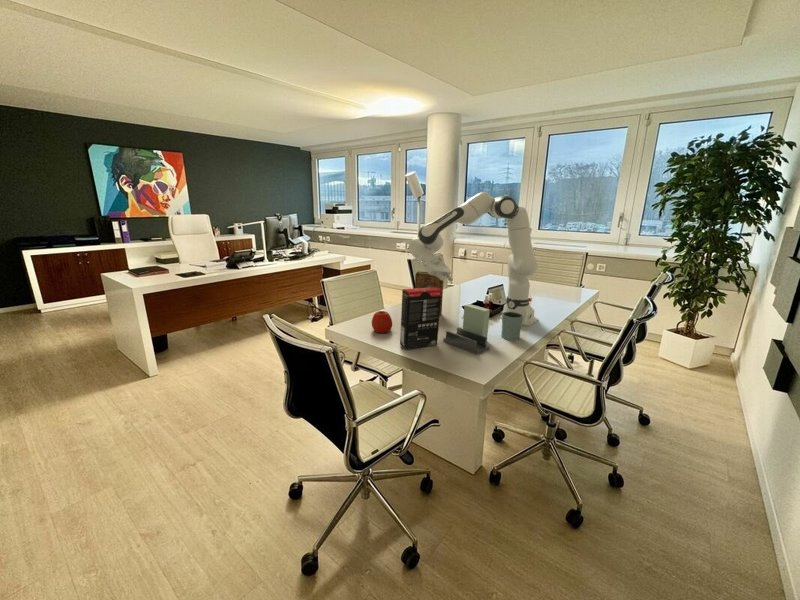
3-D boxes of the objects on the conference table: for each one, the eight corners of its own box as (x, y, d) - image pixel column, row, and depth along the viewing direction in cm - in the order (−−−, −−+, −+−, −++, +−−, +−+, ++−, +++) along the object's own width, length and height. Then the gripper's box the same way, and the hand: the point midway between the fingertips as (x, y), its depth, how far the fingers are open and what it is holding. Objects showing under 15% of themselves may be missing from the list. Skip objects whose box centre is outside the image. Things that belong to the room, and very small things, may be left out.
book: (441, 313, 208) (444, 272, 201) (441, 315, 203) (443, 274, 196) (415, 311, 210) (416, 271, 204) (413, 313, 205) (415, 273, 199)
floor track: (455, 336, 170) (456, 326, 169) (489, 349, 155) (490, 338, 154) (443, 341, 164) (443, 330, 163) (476, 354, 150) (477, 343, 148)
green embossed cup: (505, 341, 166) (507, 317, 163) (496, 333, 176) (498, 311, 172) (524, 340, 167) (527, 317, 164) (514, 333, 177) (517, 311, 174)
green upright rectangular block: (467, 334, 174) (469, 304, 170) (486, 341, 166) (489, 309, 161) (462, 335, 172) (464, 305, 168) (481, 343, 163) (484, 311, 159)
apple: (368, 328, 179) (368, 309, 176) (388, 326, 183) (388, 307, 180) (374, 335, 169) (374, 315, 167) (395, 333, 173) (395, 313, 170)
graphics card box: (431, 340, 165) (434, 285, 158) (439, 345, 159) (442, 288, 152) (399, 345, 158) (400, 288, 151) (405, 351, 152) (407, 291, 145)
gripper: (424, 255, 170) (441, 274, 164) (443, 259, 186) (459, 276, 181) (416, 265, 172) (433, 283, 167) (435, 268, 189) (452, 285, 183)
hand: (447, 280), depth 174 cm, fingers open, 8 cm apart
